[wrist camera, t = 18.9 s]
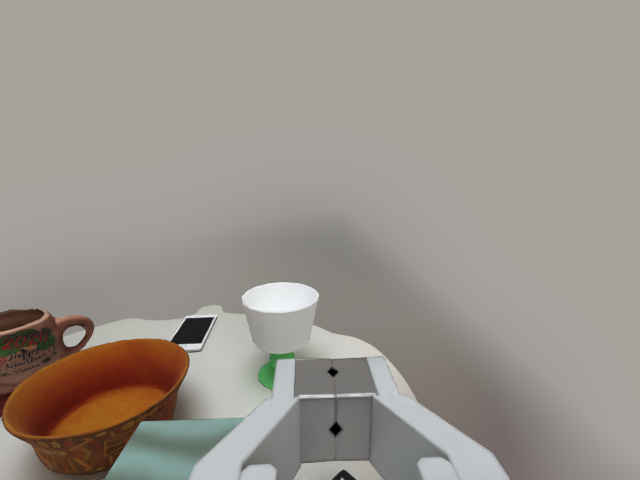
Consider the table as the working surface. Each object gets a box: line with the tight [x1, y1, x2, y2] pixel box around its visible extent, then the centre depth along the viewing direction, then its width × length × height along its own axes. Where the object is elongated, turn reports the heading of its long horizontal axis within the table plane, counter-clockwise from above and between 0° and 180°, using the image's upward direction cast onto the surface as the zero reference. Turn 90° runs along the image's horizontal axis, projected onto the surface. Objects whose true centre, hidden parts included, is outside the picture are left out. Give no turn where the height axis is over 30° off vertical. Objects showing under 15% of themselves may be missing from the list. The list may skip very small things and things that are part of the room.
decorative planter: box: [0, 309, 94, 416], centre depth 53 cm, size 20×12×14 cm, turn 138°
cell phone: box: [169, 315, 217, 352], centre depth 74 cm, size 8×16×1 cm, turn 6°
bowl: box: [2, 339, 189, 475], centre depth 45 cm, size 21×21×10 cm
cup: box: [242, 282, 319, 389], centre depth 58 cm, size 14×14×16 cm
